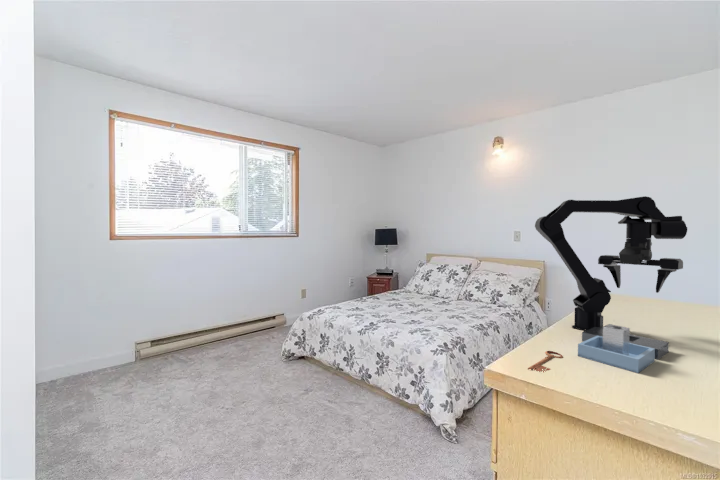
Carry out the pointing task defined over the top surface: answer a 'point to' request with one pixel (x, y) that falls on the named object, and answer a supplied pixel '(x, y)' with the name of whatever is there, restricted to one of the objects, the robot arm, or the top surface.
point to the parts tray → (617, 355)
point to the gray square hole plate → (633, 341)
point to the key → (538, 364)
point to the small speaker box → (616, 339)
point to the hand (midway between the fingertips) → (637, 290)
